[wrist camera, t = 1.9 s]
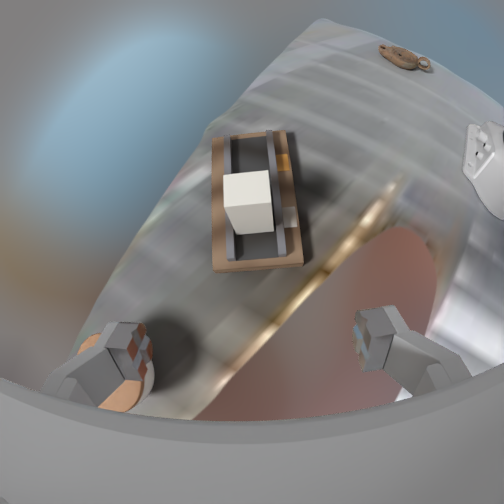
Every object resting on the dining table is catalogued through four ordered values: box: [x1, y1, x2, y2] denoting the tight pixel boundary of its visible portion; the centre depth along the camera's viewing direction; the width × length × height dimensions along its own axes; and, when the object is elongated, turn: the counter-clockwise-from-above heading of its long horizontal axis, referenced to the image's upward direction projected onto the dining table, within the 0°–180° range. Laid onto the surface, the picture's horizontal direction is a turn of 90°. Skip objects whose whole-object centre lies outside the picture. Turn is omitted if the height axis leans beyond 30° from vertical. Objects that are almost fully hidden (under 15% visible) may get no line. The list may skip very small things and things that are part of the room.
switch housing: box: [212, 130, 304, 273], centre depth 40 cm, size 22×12×4 cm, turn 4°
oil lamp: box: [379, 45, 430, 70], centre depth 46 cm, size 13×8×5 cm, turn 59°
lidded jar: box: [77, 333, 155, 412], centre depth 32 cm, size 11×11×9 cm
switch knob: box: [223, 170, 274, 235], centre depth 34 cm, size 4×5×9 cm
